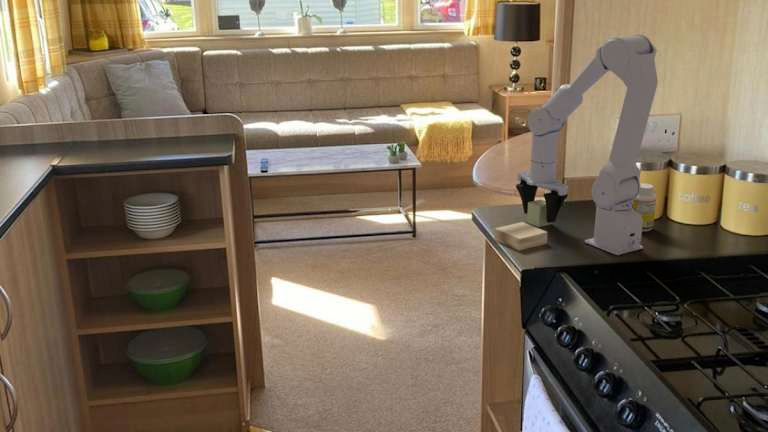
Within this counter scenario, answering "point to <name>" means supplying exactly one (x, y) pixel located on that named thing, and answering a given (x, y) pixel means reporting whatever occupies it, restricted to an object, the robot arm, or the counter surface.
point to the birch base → (520, 236)
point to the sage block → (537, 213)
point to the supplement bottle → (645, 205)
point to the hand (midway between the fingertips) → (539, 217)
